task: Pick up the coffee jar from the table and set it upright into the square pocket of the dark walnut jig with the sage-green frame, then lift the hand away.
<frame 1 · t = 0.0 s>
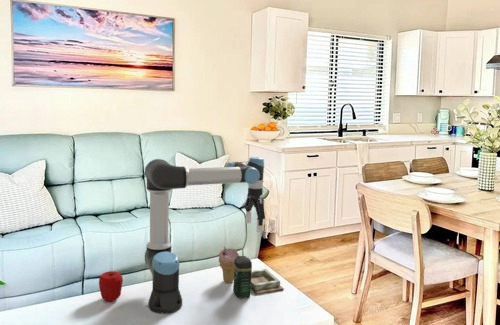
hand: (253, 227, 222), 28 cm above the table, fingers open, 13 cm apart
ice cream cone: (228, 281, 221), on the table
jig: (260, 283, 221), on the table
coffee jar: (241, 294, 208), on the table
apple: (111, 299, 198), on the table
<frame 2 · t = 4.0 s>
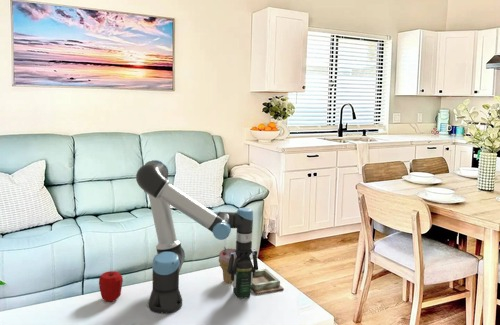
hand: (242, 285, 207), 5 cm above the table, fingers closed on coffee jar, 8 cm apart
coffee jar: (241, 294, 208), on the table, touching gripper
everything else where it was.
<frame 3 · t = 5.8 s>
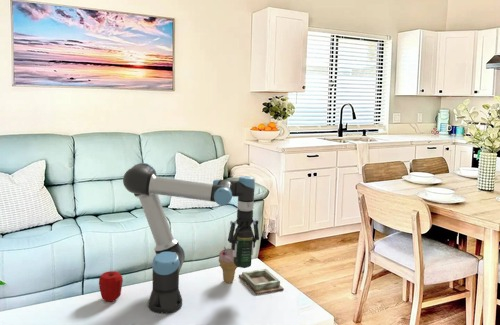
hand: (242, 255, 204), 20 cm above the table, fingers closed on coffee jar, 8 cm apart
coffee jar: (242, 264, 205), point 15 cm above the table, touching gripper
everything else where it was.
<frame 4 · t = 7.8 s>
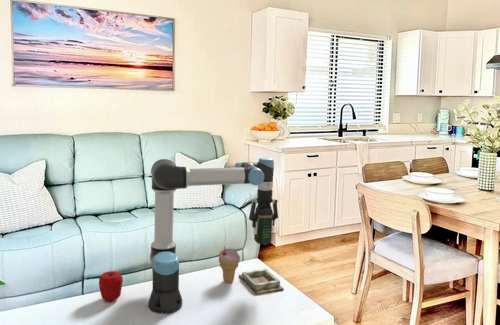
hand: (262, 232, 216), 27 cm above the table, fingers closed on coffee jar, 8 cm apart
coffee jar: (262, 242, 217), point 22 cm above the table, touching gripper
everything else where it was.
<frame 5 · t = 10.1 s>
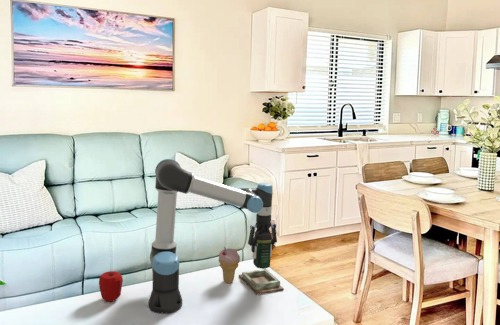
hand: (261, 256, 218), 14 cm above the table, fingers closed on coffee jar, 8 cm apart
coffee jar: (261, 265, 219), point 9 cm above the table, touching gripper
everything else where it was.
when the fingers open (7 cm above the table, at t = 12.0 s): coffee jar drops 1 cm, resting on jig.
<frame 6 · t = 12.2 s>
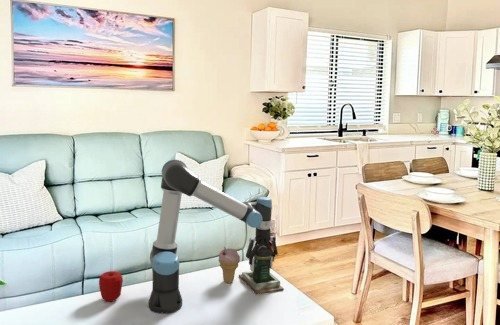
hand: (261, 269, 219), 8 cm above the table, fingers open, 10 cm apart
coffee jar: (261, 281, 221), point 1 cm above the table, touching jig
everything else where it was.
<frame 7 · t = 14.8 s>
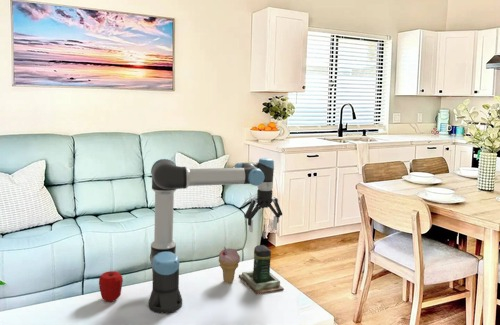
hand: (262, 230, 216), 28 cm above the table, fingers open, 13 cm apart
nothing on the table moved.
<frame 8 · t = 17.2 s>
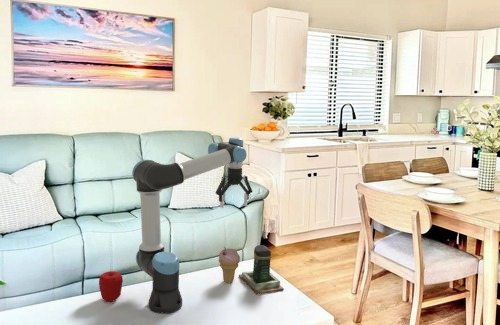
hand: (233, 206, 227), 37 cm above the table, fingers open, 13 cm apart
nothing on the table moved.
at the end: coffee jar 0.3 cm off-centre on the jig, point 0.8 cm above the jig's base; coffee jar tilted 0°; the gripper is holding nothing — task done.
